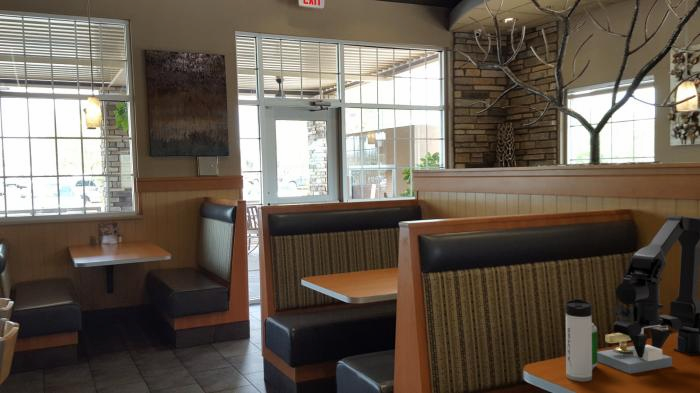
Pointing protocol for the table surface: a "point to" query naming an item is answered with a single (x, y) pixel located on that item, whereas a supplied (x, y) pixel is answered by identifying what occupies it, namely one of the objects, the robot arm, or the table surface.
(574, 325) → the travel mug
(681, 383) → the table surface
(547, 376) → the table surface
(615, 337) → the brass door handle
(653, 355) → the white square block
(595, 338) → the soda can
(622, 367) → the lock plate
